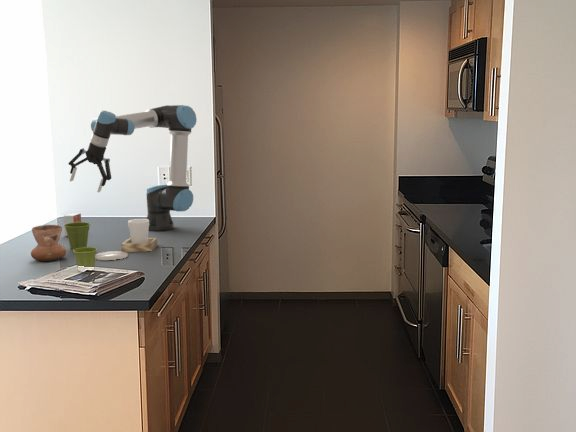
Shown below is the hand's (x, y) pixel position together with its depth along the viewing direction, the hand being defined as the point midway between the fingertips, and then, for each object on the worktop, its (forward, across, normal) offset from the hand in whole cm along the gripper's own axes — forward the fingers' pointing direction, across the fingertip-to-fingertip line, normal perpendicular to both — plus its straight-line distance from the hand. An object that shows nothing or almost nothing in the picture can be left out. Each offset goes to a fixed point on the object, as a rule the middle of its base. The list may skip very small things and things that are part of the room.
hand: (85, 186), depth 312 cm
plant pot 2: (+16, +24, -49) cm, 57 cm away
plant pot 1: (+26, +8, -9) cm, 29 cm away
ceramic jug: (+27, +3, -30) cm, 40 cm away
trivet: (+17, +27, -26) cm, 41 cm away
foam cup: (+15, +35, -9) cm, 39 cm away
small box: (+35, -4, +22) cm, 42 cm away
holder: (+15, +35, -9) cm, 39 cm away
